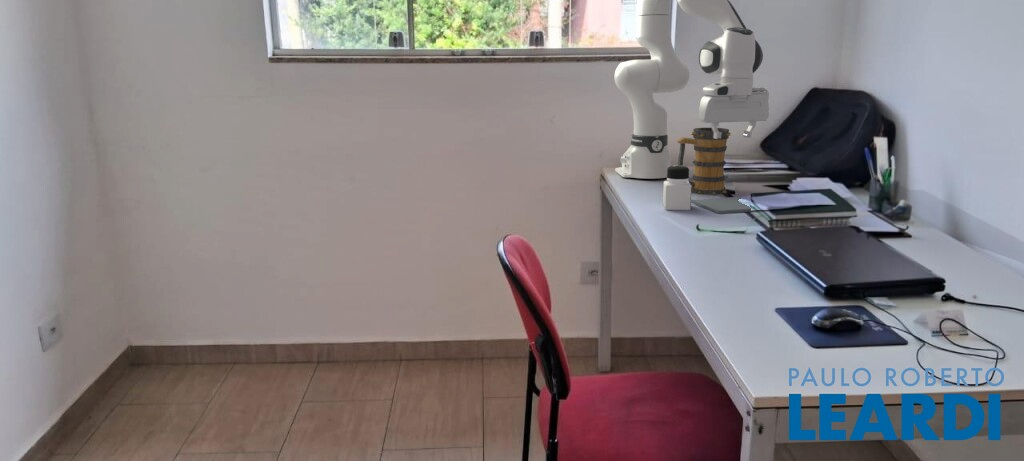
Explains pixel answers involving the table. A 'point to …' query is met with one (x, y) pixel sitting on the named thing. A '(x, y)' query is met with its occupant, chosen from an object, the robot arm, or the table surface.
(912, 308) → the table surface
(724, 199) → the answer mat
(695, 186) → the mug
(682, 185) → the medicine bottle
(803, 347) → the table surface
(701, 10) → the robot arm
